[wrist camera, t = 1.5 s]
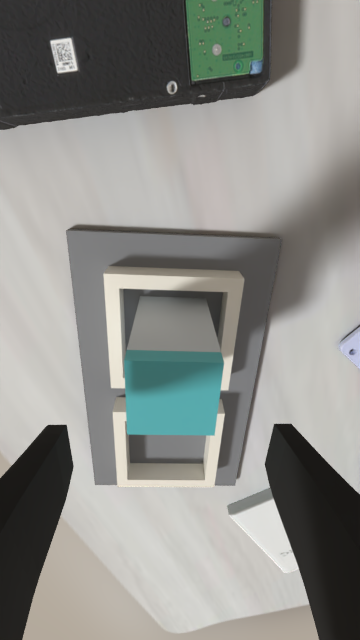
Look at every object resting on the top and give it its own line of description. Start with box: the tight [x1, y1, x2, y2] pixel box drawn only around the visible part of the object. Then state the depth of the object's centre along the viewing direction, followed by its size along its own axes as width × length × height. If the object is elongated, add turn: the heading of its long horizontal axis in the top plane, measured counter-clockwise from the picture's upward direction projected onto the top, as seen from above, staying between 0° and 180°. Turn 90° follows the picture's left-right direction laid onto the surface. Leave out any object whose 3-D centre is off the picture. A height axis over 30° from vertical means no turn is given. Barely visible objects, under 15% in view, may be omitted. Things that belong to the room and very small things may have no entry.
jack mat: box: [66, 229, 282, 486], centre depth 21 cm, size 21×12×1 cm, turn 177°
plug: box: [124, 296, 224, 436], centre depth 16 cm, size 4×4×7 cm
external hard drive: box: [227, 488, 299, 573], centre depth 29 cm, size 2×8×12 cm
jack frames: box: [103, 266, 244, 487], centre depth 21 cm, size 17×8×2 cm, turn 177°
